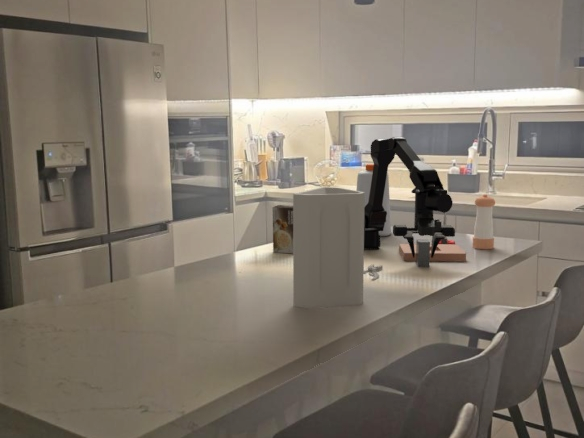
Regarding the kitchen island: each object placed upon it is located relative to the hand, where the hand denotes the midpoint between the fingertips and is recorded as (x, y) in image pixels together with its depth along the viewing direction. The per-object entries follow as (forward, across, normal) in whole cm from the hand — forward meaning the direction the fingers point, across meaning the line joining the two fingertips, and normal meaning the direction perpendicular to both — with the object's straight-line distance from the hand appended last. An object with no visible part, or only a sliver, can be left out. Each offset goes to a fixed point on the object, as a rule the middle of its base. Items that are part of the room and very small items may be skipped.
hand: (422, 257), depth 210 cm
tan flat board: (+2, +5, +15) cm, 16 cm away
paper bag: (+3, -28, -42) cm, 51 cm away
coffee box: (+3, -44, +20) cm, 48 cm away
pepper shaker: (+3, +26, +31) cm, 40 cm away
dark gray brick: (+3, 0, 0) cm, 3 cm away
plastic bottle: (+3, -12, +59) cm, 60 cm away
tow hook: (+3, +13, +38) cm, 40 cm away
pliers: (+3, -18, -12) cm, 22 cm away
